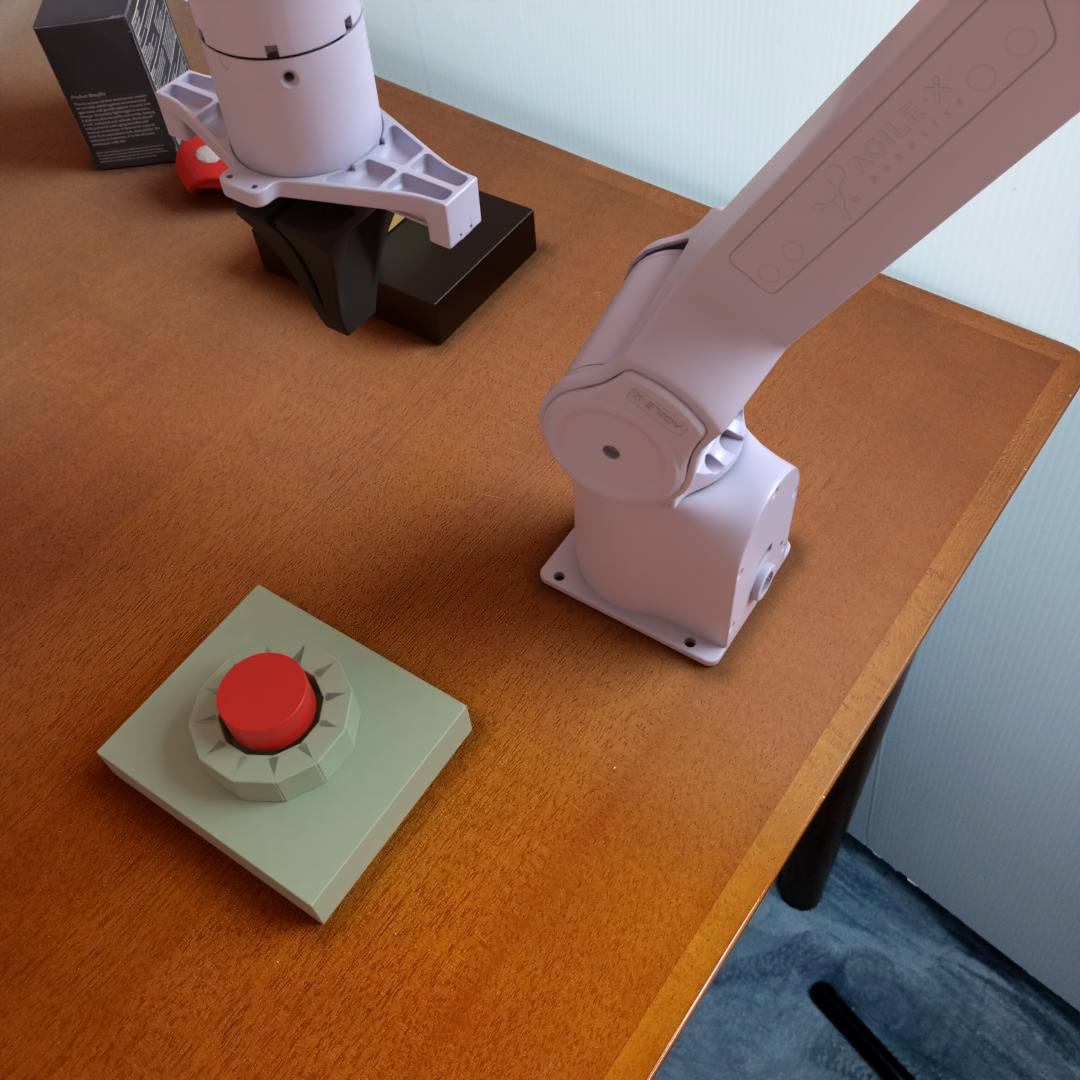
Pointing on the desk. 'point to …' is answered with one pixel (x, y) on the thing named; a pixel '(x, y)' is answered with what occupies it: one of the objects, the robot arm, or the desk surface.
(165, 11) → the small box
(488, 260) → the plate
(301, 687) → the alarm button
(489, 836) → the desk surface
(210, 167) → the tracker holder
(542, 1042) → the desk surface
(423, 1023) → the desk surface
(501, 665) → the desk surface
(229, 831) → the alarm block
